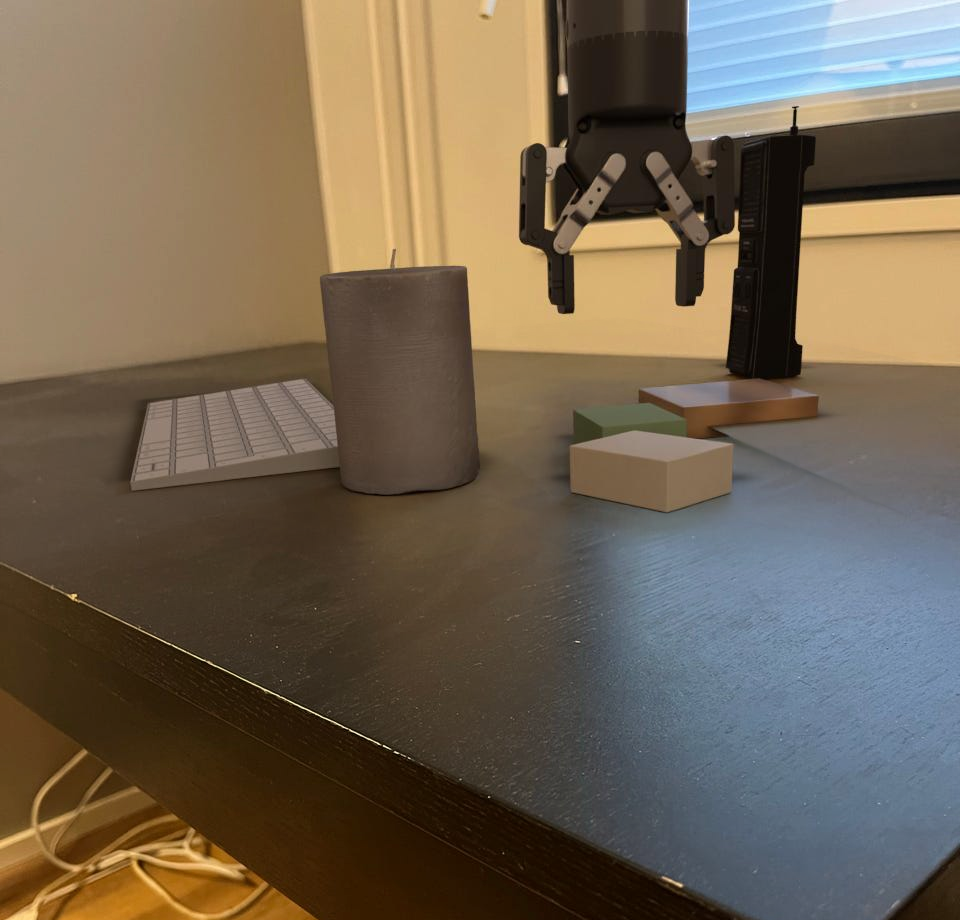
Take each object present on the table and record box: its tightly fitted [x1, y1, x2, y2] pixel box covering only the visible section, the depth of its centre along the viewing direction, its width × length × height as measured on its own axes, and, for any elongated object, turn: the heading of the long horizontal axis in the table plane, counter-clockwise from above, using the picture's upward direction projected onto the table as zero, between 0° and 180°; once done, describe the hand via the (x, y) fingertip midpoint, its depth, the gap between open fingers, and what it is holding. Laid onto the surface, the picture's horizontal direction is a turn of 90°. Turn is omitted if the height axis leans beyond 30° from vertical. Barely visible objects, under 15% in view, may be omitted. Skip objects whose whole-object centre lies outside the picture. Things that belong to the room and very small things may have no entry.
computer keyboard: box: [129, 378, 340, 492], centre depth 91 cm, size 43×19×2 cm, turn 14°
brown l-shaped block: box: [638, 378, 820, 439], centre depth 81 cm, size 11×11×2 cm
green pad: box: [572, 403, 687, 445], centre depth 71 cm, size 6×8×3 cm
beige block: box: [569, 430, 734, 513], centre depth 61 cm, size 6×8×3 cm
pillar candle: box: [319, 248, 481, 496], centre depth 66 cm, size 10×10×15 cm
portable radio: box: [725, 105, 817, 380], centre depth 100 cm, size 8×6×25 cm
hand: (626, 309), depth 68 cm, fingers open, 8 cm apart
